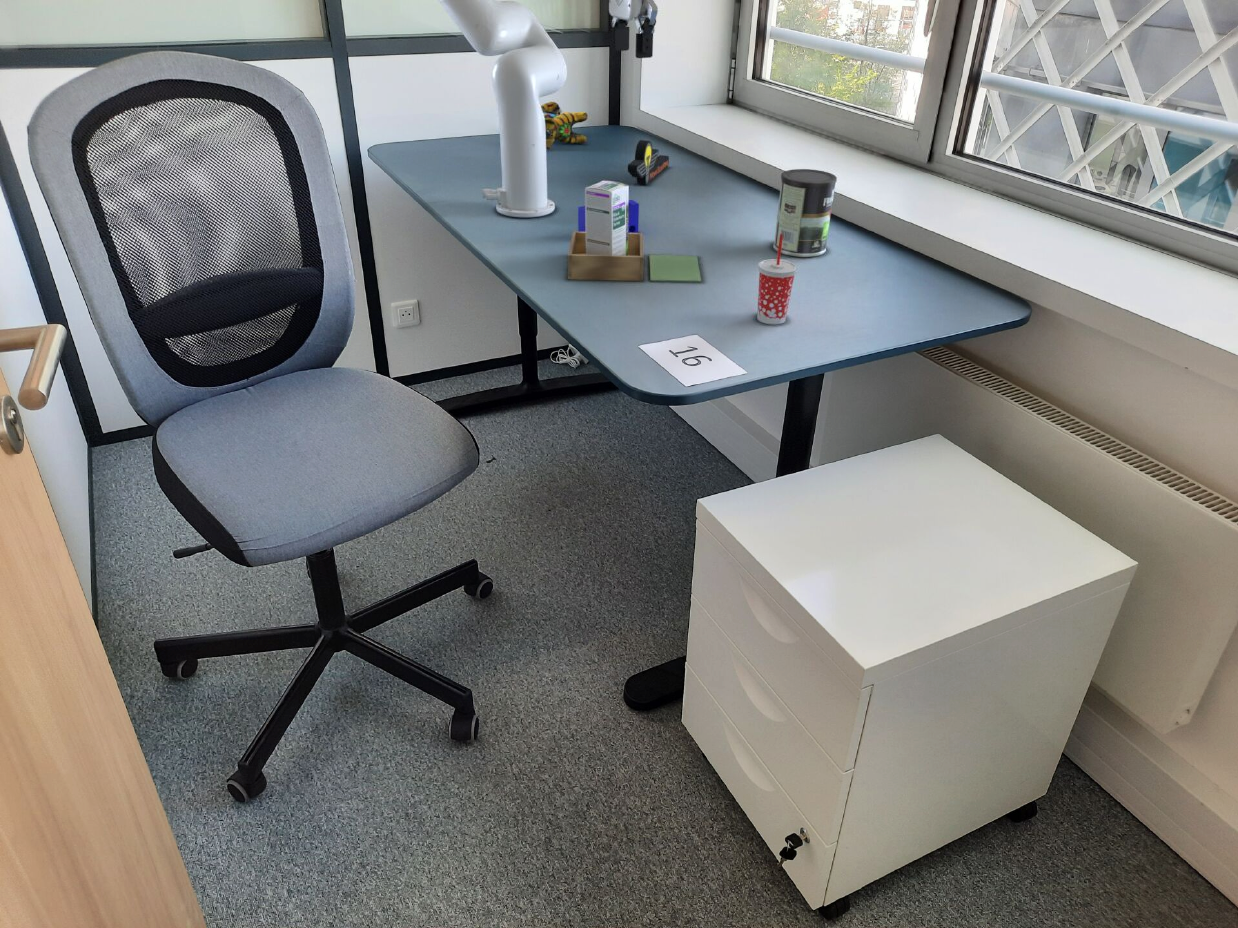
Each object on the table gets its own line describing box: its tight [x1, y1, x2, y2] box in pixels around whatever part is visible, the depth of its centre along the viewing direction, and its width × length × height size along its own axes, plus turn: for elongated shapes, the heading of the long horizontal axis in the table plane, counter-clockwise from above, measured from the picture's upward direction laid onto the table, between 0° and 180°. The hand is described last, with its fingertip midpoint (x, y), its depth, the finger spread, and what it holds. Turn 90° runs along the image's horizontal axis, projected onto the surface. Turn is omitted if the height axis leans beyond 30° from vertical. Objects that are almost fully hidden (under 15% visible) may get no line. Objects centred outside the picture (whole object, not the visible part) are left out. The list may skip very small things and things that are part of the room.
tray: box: [567, 230, 644, 282], centre depth 160 cm, size 13×13×4 cm
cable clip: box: [577, 199, 640, 233], centre depth 176 cm, size 12×4×6 cm, turn 118°
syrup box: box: [584, 180, 630, 256], centre depth 158 cm, size 6×6×14 cm
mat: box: [649, 254, 702, 283], centre depth 162 cm, size 9×13×1 cm
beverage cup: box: [756, 234, 798, 325], centre depth 139 cm, size 6×6×14 cm
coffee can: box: [773, 168, 838, 258], centre depth 169 cm, size 10×10×14 cm
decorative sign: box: [627, 139, 670, 186], centre depth 210 cm, size 27×2×10 cm, turn 161°
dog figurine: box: [540, 101, 588, 151], centre depth 240 cm, size 20×12×18 cm
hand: (632, 54), depth 162 cm, fingers open, 9 cm apart
